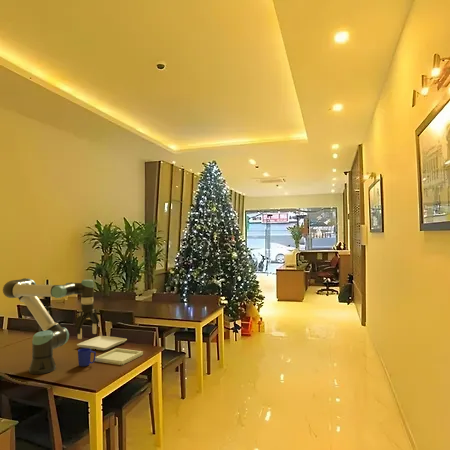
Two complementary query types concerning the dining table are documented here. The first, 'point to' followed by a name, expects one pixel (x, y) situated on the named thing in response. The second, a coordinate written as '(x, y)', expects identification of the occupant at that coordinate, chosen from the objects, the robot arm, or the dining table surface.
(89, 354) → the mug
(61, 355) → the dining table surface
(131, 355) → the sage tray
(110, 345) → the square plate
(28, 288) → the robot arm
